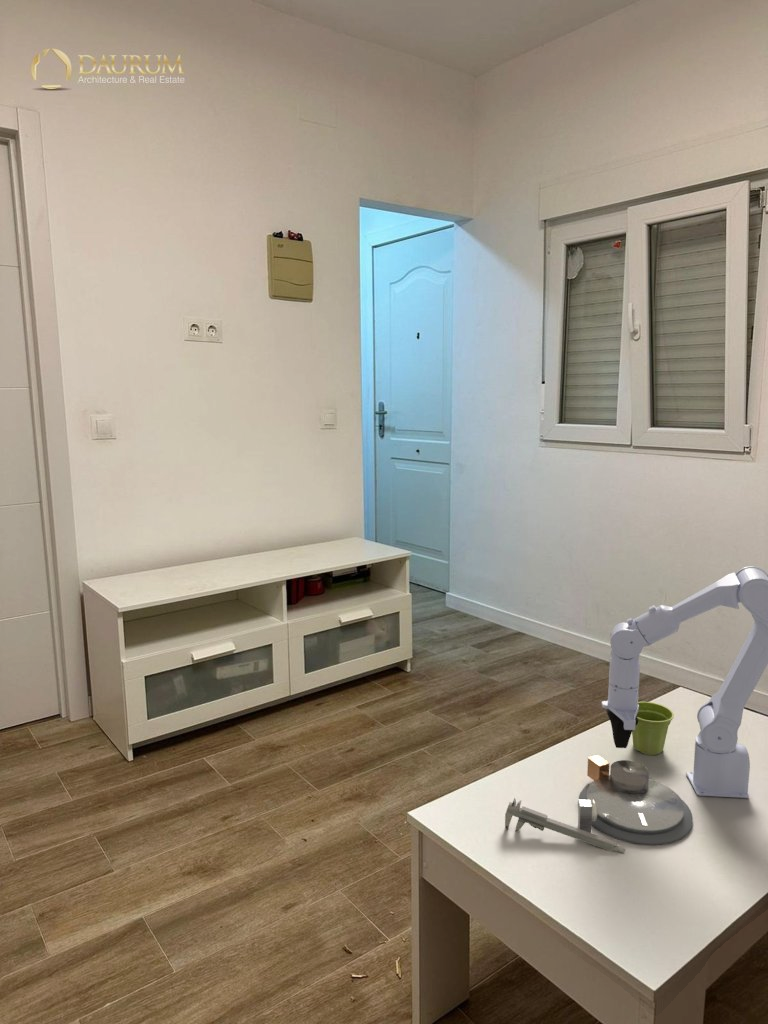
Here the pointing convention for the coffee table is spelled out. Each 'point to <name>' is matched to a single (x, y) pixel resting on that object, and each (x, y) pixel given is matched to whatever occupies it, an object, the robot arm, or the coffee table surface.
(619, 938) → the coffee table surface
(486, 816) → the coffee table surface
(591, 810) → the block
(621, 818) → the turntable
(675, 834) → the plinth
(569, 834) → the caliper
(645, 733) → the plant pot
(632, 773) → the cover
